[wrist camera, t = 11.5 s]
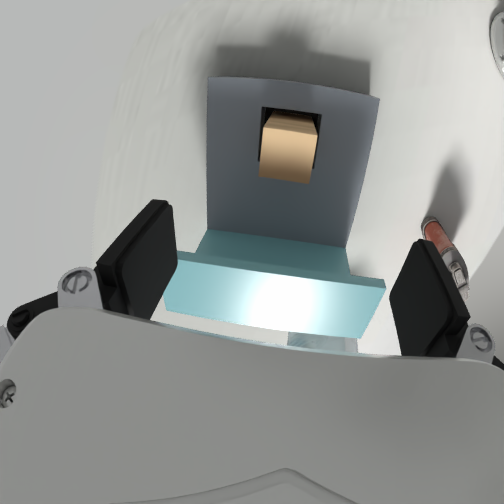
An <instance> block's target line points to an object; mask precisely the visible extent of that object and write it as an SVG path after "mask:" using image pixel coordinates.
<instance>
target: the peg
mask: <svg viewBox="0 0 504 504" xmlns="http://www.w3.org/2000/svg"><path fill="white" fill-rule="evenodd" d="M317 136H318V135H317V132H316V129H315V126H314V123H313V120H312V117H311V116H307V115H301V114H295V113H288V112H281V111H273V113H272V114H271V116H270V118H269V119H268V121H267V122H266V124H265V126H264V127H263V137H262V146H261V156H260V165H259V175H258V176H259V177H266V178H273V179H280V180H287V181H293V182H299V183H305V184H309V181H310V176H311V170H312V165H313V159H314V154H315V148H316V142H317Z"/></svg>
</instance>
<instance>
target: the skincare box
mask: <svg viewBox="0 0 504 504" xmlns="http://www.w3.org/2000/svg"><path fill="white" fill-rule="evenodd" d="M287 346H294V347H302V348H311V349H320V350H329V351H340V352H351V353H358V344H357V338H347V337H336V336H326V335H317V334H308V333H299V332H291V331H289V333H288V343H287Z"/></svg>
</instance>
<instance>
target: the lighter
mask: <svg viewBox="0 0 504 504" xmlns="http://www.w3.org/2000/svg"><path fill="white" fill-rule="evenodd" d="M421 230H422V235H423V239H424V240H429V241H432V242H433V243H434V244H435V246H436V248H437V250H438V251H439V253H440V255H441V257H442V259H443V260H444V262H445V264H446V266H447V268H448V270H449V272H450V274H451V276H452V278H453V280H454V282H455V284H456V286H457V288H458V290H459V292H460V294H461V296H462V299H463V301H466V300H467V299H468V298H469V294H468V290H469V286H468V284H469V277H468V271H467V267H466V264H465V262H464V259H463V258H462V256H461V254H460V253H459V251H458V250H457V248H456V247H455V245H454V244H453V243H451V242H450V240H449V239H448V237H447V235H446V233H445V231H444V229H443V227H442V226H441V225H440V223H439V222H438V220H437V219H436V218H435V217H428V218H426V219H425V220H424V221H423V222H422V224H421Z"/></svg>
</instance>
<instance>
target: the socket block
mask: <svg viewBox="0 0 504 504" xmlns="http://www.w3.org/2000/svg"><path fill="white" fill-rule="evenodd" d="M379 101H380V99H379V98H376V97H373V96H370V95H367V94H362V93H358V92H354V91H349V90H344V89H339V88H334V87H328V86H322V85H316V84H310V83H302V82H295V81H286V80H277V79H266V78H251V77H226V76H218V77H208V96H207V231H206V233H205V235H204V237H203V239H202V240H201V242H200V244H199V246H198V248H197V250H196V252H195V253H190V252H183V251H177V257H178V265H177V269H176V271H175V273H174V274H173V276H172V278H171V280H170V282H169V284H168V286H167V287H166V289H165V291H164V293H163V297H164V301H165V306H166V310H167V311H172V312H177V313H182V314H187V315H192V316H197V317H202V318H207V319H213V320H219V321H224V322H230V323H236V324H242V325H249V326H255V327H262V328H269V329H276V330H283V331H291V332H299V333H308V334H317V335H326V336H336V337H347V338H359V339H361V337H362V335H363V333H364V331H365V330H366V328H367V326H368V324H369V322H370V320H371V318H372V316H373V314H374V313H375V311H376V309H377V307H378V305H379V303H380V301H381V299H382V296H383V294H384V292H385V290H386V286H385V282H384V279H376V278H368V277H361V276H353V275H350V270H349V264H348V259H347V254H346V249H345V248H346V244H347V241H348V237H349V234H350V230H351V227H352V223H353V220H354V216H355V212H356V209H357V205H358V201H359V197H360V193H361V189H362V185H363V181H364V176H365V172H366V168H367V163H368V159H369V154H370V149H371V145H372V140H373V135H374V129H375V124H376V118H377V113H378V107H379ZM266 107H271V108H281V109H289V110H297V111H304V112H311V113H317V114H318V120H317V128H316V132H317V135H318V136H317V142H316V148H315V154H314V159H313V165H312V170H311V176H310V181H309V184H305V183H299V182H293V181H287V180H280V179H273V178H266V177H259V176H258V175H259V165H260V156H261V146H262V137H263V127H264V122H265V109H266Z"/></svg>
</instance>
